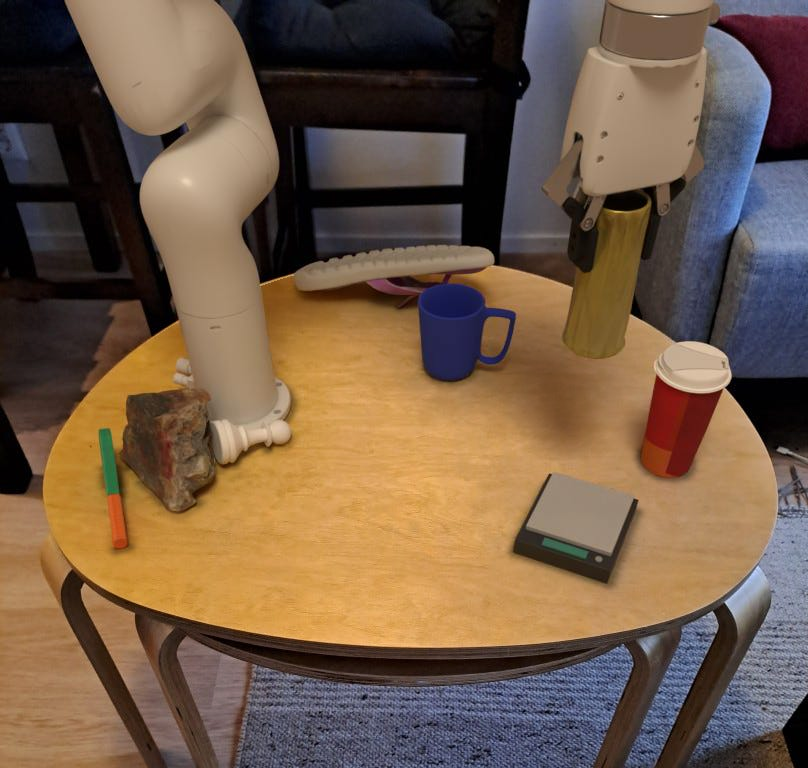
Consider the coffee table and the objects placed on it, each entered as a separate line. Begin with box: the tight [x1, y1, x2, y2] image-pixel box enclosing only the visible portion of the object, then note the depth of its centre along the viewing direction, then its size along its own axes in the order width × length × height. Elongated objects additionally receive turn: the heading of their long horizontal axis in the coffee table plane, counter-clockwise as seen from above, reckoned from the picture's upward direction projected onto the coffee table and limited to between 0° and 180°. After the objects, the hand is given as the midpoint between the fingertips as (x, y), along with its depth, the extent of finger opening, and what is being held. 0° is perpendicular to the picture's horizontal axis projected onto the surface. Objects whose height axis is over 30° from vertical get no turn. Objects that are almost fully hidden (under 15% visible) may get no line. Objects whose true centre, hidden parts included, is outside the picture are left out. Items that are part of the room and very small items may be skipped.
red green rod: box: [97, 427, 128, 550], centre depth 88 cm, size 15×6×2 cm
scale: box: [513, 471, 640, 584], centre depth 85 cm, size 10×11×3 cm
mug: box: [417, 282, 517, 382], centre depth 102 cm, size 8×12×10 cm
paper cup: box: [640, 340, 733, 479], centre depth 88 cm, size 8×8×14 cm
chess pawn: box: [209, 419, 292, 465], centre depth 94 cm, size 5×5×9 cm
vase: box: [561, 189, 651, 360], centre depth 74 cm, size 6×6×14 cm
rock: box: [118, 388, 217, 512], centre depth 89 cm, size 12×12×10 cm
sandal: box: [293, 244, 495, 308], centre depth 115 cm, size 13×29×7 cm, turn 85°
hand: (609, 257), depth 73 cm, fingers closed on vase, 5 cm apart
